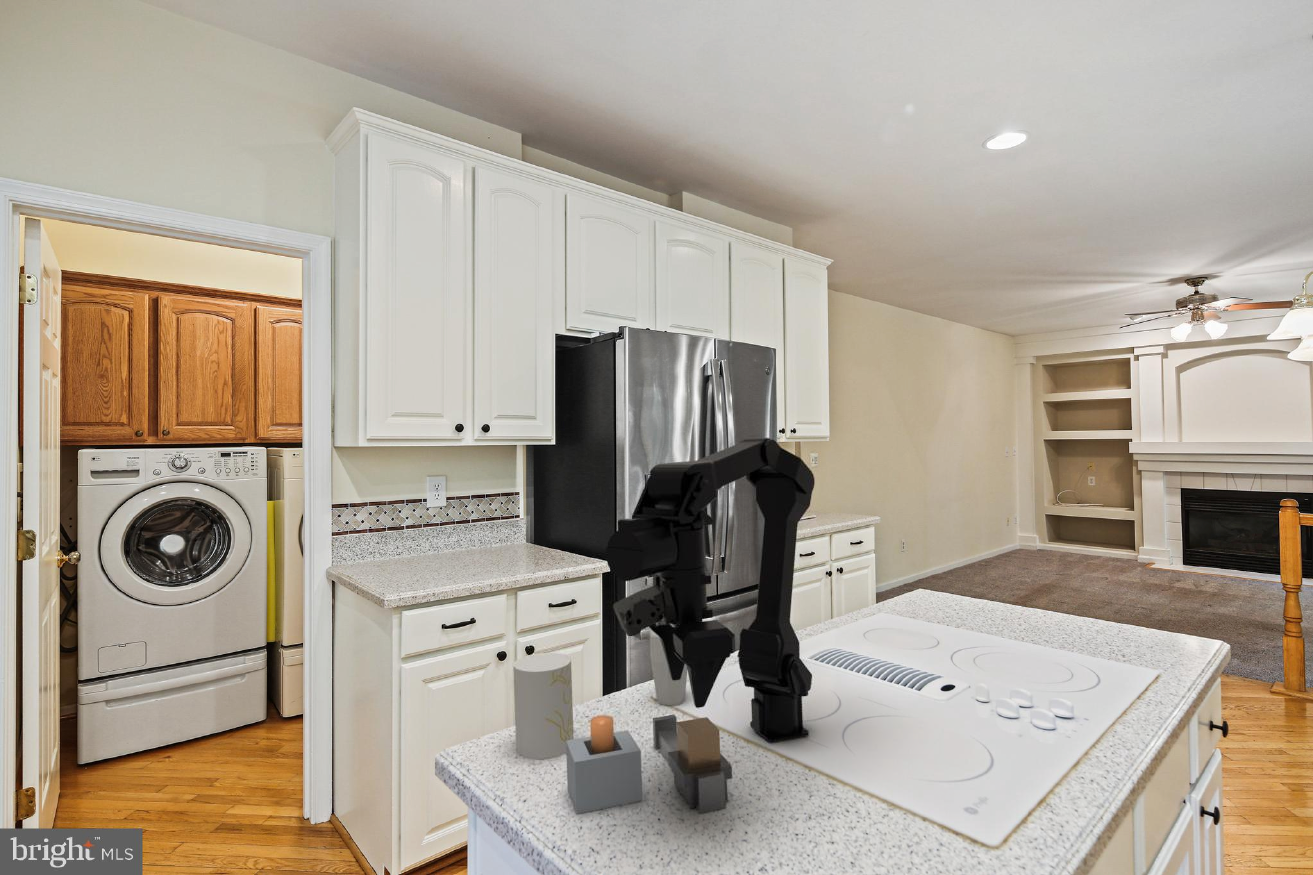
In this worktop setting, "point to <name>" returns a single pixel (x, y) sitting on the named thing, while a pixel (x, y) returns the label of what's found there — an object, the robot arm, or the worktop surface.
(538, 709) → the cup
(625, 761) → the grey hollow block
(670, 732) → the rail
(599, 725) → the button
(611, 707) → the worktop surface
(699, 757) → the carriage
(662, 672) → the low poly bottle
